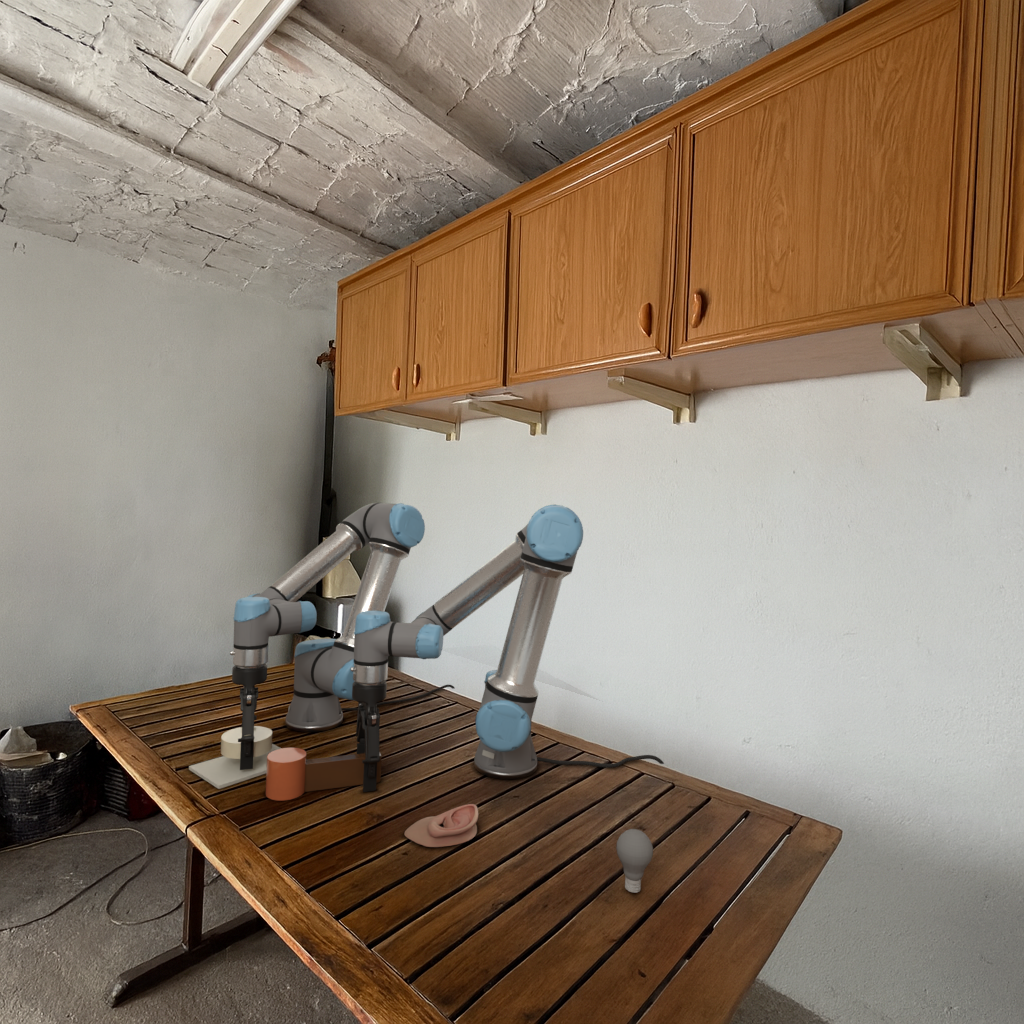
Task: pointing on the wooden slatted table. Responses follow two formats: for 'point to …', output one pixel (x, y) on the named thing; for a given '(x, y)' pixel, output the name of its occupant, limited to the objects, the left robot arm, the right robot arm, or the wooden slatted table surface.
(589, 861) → the wooden slatted table surface
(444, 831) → the anatomical model
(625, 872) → the light bulb
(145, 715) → the wooden slatted table surface
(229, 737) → the cap
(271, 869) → the wooden slatted table surface
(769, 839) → the wooden slatted table surface
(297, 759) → the orange handled cylinder
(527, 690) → the right robot arm
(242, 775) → the grey mat
